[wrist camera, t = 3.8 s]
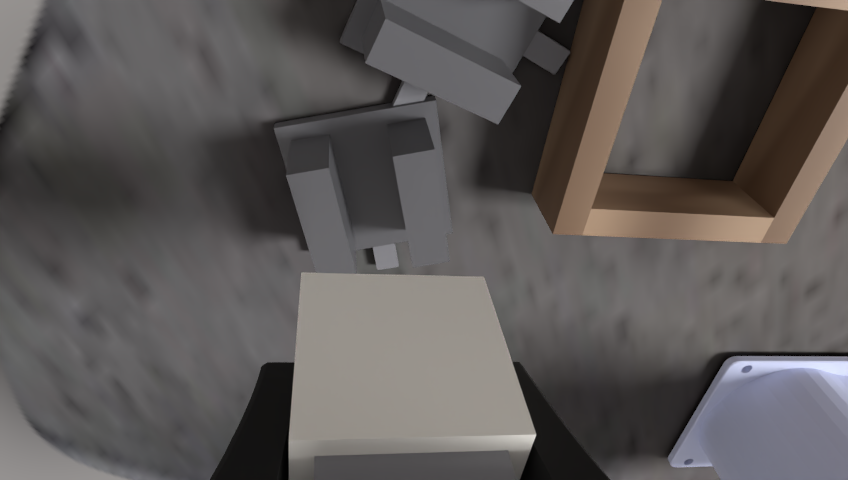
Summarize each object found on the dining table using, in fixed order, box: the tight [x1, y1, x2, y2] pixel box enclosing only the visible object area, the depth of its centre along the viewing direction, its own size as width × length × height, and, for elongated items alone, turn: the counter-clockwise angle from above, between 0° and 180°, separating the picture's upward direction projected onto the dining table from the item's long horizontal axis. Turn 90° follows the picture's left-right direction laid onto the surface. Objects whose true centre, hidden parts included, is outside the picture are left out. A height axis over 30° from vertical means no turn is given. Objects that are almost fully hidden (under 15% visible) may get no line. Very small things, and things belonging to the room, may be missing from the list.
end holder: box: [532, 0, 848, 244], centre depth 18 cm, size 8×8×2 cm
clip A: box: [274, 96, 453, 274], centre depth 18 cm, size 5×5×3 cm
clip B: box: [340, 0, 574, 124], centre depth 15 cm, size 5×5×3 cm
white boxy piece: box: [289, 273, 536, 480], centre depth 12 cm, size 4×4×5 cm
